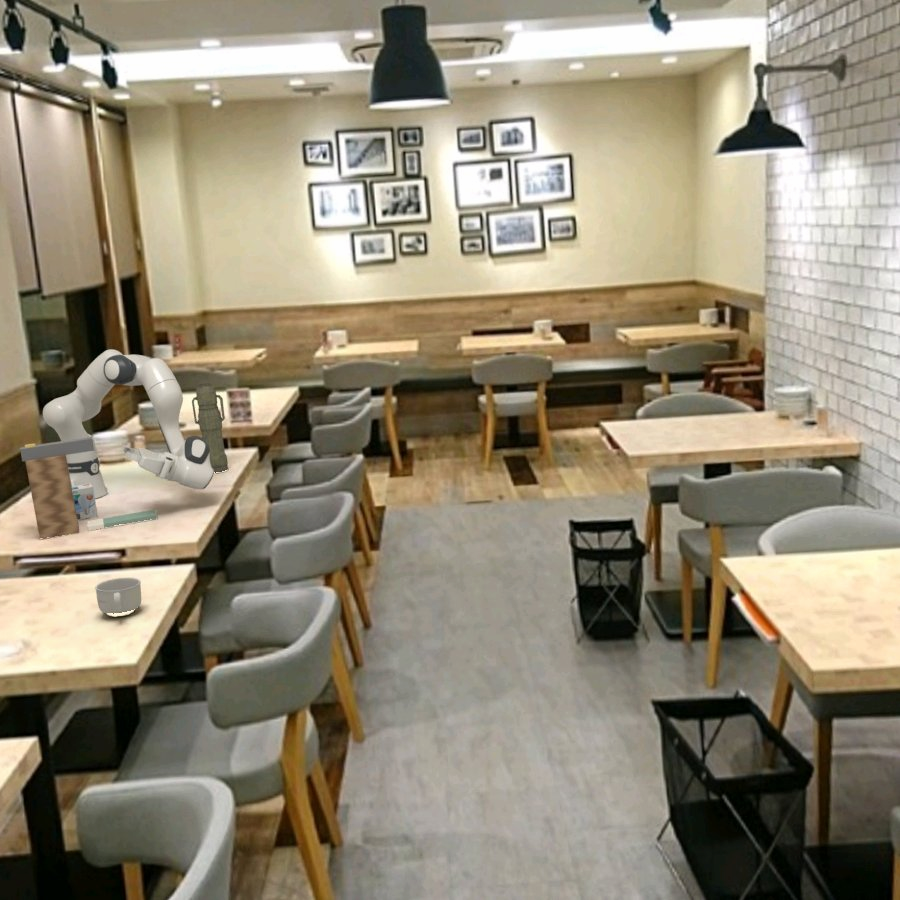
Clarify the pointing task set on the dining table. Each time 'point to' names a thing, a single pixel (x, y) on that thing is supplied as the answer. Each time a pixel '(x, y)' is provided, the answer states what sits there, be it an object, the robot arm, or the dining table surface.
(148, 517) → the board
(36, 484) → the brown wooden block
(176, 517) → the dining table surface
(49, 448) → the grey rectangular bar
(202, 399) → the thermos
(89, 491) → the light bulb box
